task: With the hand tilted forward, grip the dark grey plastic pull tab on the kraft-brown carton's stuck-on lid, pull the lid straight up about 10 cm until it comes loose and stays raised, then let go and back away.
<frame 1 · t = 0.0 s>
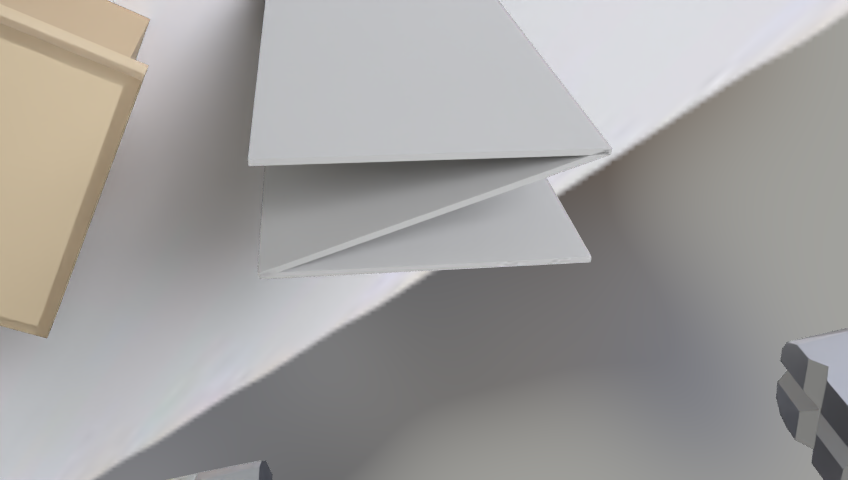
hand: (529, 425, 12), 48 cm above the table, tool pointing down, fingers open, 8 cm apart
brochure: (370, 0, 56), on the table
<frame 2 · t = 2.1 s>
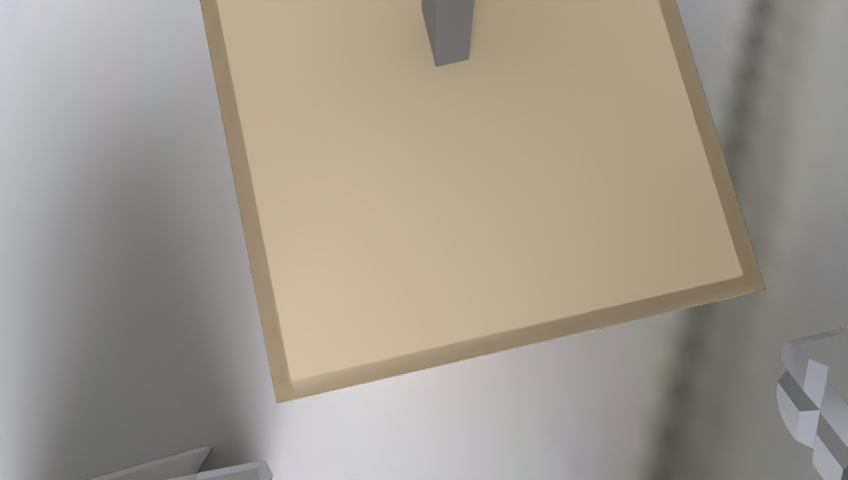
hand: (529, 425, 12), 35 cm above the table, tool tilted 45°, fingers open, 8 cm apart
lid: (471, 115, 34), point 15 cm above the table, slide at 0.0 cm
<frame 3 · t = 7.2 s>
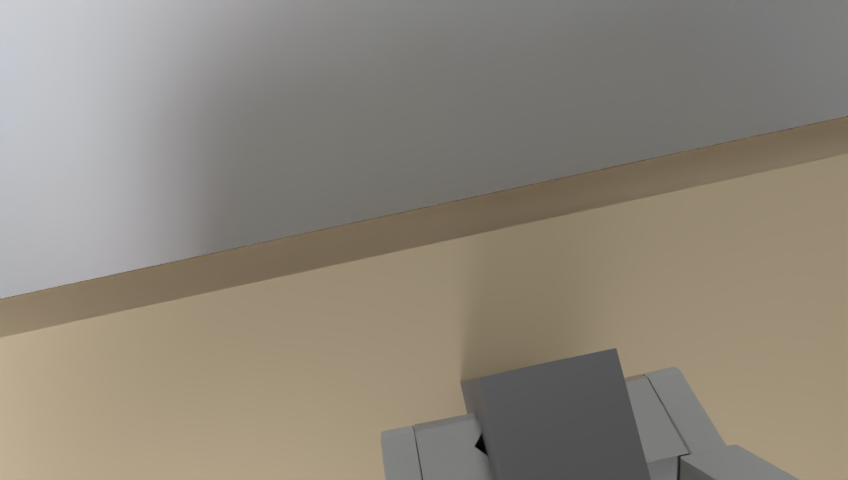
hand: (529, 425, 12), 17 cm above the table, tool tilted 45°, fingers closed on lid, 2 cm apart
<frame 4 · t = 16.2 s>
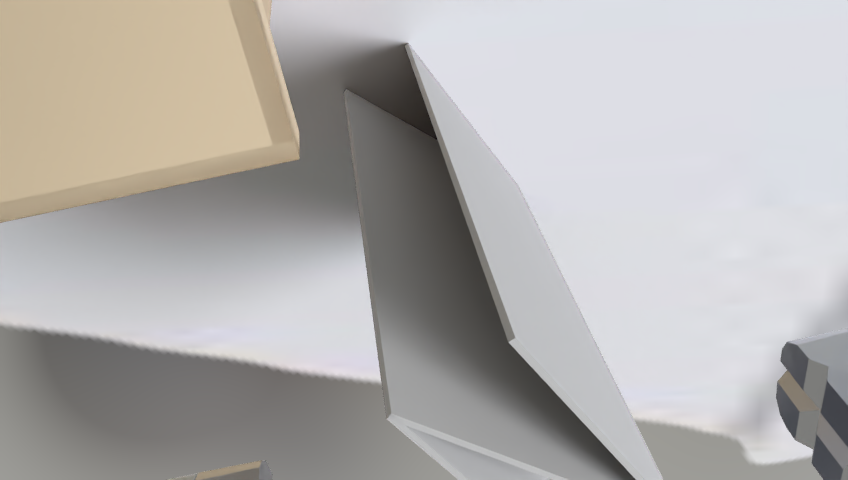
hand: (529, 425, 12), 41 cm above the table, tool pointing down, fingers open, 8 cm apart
brochure: (434, 140, 55), on the table
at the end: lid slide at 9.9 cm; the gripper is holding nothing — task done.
